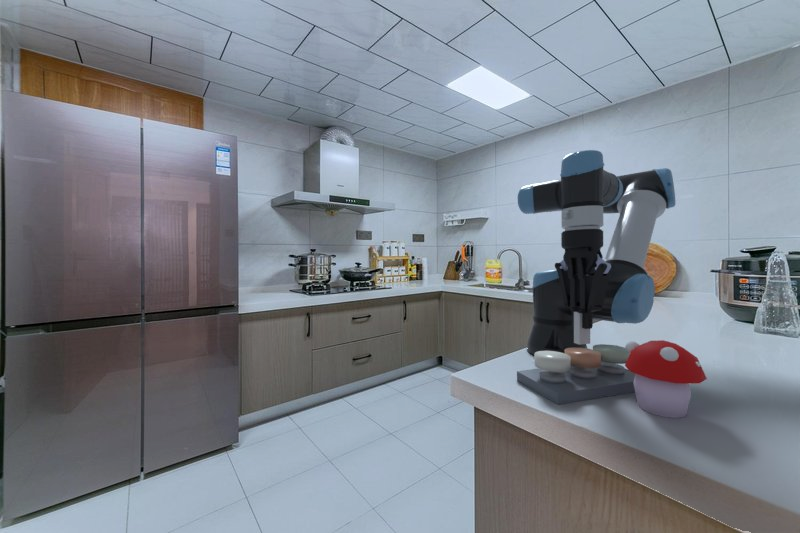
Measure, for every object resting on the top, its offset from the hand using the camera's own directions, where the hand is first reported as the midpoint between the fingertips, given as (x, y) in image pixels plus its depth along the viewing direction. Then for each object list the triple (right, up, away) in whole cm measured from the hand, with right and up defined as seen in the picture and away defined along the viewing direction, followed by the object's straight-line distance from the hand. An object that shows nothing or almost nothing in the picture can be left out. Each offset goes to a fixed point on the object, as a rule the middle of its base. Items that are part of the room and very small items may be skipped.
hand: (582, 343), depth 66 cm
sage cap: (+7, -4, +2) cm, 9 cm away
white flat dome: (-7, -4, -2) cm, 8 cm away
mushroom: (+8, -9, -11) cm, 16 cm away
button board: (0, -9, 0) cm, 9 cm away
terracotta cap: (0, -4, 0) cm, 4 cm away
